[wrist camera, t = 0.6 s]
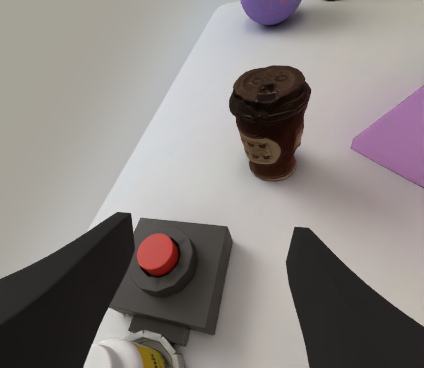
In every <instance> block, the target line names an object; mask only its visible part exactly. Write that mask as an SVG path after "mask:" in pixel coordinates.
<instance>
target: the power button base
mask: <svg viewBox="0 0 424 368" xmlns="http://www.w3.org/2000/svg"><path fill="white" fill-rule="evenodd" d="M153 234H165V235H167V236H168V237H169V238H170V239H171V240H172V241H173V243H174V244H175V245H176V247H177V249H178V253H179V256H178V261H177V263H176V265H175V267H174V268H173V269H172V270H171V271H170V272H168V273H167V274H164V275H161V276H155V275H152V274H150V273H148V272H147V271H146V270H145V269H144V268H142V267H141V266H140V264H139V263H138V260H137V251H138V248H139V246H140V245H141V243H142V242H143V241H144V240H145V239H146V238H147V237H149V236H151V235H153ZM134 242H135V251H134V254H133V257H132V260H131V262H130V265H129V268H128V270H127V272H126V274H125V276H124V278H123V280H122V282H121V284H120V286H119V288H118V290H117V292H116V294H115V296H114V298H113V300H112V302H111V304H110V305H109V308H111V309H114V310H116V311H118V312H121V313H125V314H129V315H133V316H134V315H138V316H142V317H146V318H150V319H154V320H158V321H162V322H167V323H171V324H175V325H179V326H183V327H187V328H189V329H191V330H195V331H199V332H203V333H207V334H211V335H214V333H215V328H216V323H217V318H218V313H219V307H220V302H221V297H222V292H223V287H224V282H225V277H226V272H227V266H228V261H229V256H230V251H231V246H232V238H231V235H230V232H229V230H228V227H227V226H217V225H207V224H197V223H187V222H177V221H167V220H157V219H147V218H140V220H139V222H138V225H137V227H136V229H135V231H134Z"/></svg>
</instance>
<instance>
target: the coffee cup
mask: <svg viewBox="0 0 424 368" xmlns="http://www.w3.org/2000/svg"><path fill="white" fill-rule="evenodd" d="M233 88H234V89H233V93H232V95H231V97H230V100H229V108H230V112H231V113H232V114H233V115H234V116H235V117H236V123H237V127H238V130H239V133H240V136H241V140H242V143H243V145H244V149H245V152H246V155H247V157H248V158H249V160H250V161H249V166H250V169H251V171H252V172H253V173H254V174H255V175H256V176H257V177H259V178H262V179H265V180H274V181H276V180H280V179H285V178H287V177H288V176H289V175H290V174H292V173H293V171H294V170H295V169H296V160H295V157H294V153H295V150H296V149H297V147H298V146H300V144H301V136H302V133H303V128H304V113H305V110H306V108H307V104H308V101H309V98H310V94H311V88H310V87H309V85H308V84H307V83H306V82H305V77H304V76H303V74H302V72H300V71H299V70H298V69H296V68H293V67H290V66H269V67H266V68H259V69H253V70H250V71H247V72H245V73H244V74H243V75H241V76H240V77H239V78H238V80H236V82H235V83H234V86H233Z"/></svg>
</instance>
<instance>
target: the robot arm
mask: <svg viewBox="0 0 424 368" xmlns="http://www.w3.org/2000/svg"><path fill="white" fill-rule="evenodd" d="M134 251H135V242H134V234H133V226H132V218H131V213H122V212H117V213H115V214H114V215H112V216H110V217H109V218H107V219H106V220H104V221H103V222H102V223H100V224H99V225H97V226H96V227H94V228H93V229H91V230H90V231H88V232H87V233H85V234H84V235H82V236H81V237H79V238H77V239H76V240H74V241H73V242H71V243H69V244H67V245H66V246H65V247H63V248H61V249H59V250H58V251H56V252H54V253H53V254H51V255H49V256H48V257H45V258H43V259H41V260H40V261H38V262H36V263H34V264H32V265H30V266H28V267H26V268H24V269H22V270H19V271H17V272H15V273H13V274H10V275H8V276H6V277H4V278H1V279H0V368H83V367H84V364H85V361H86V359H87V356H88V353H89V351H90V348H91V346H92V343H93V341H94V338H95V336H96V333H97V331H98V328H99V326H100V324H101V322H102V319H103V317H104V315H105V313H106V311H107V309H108V307H109V305H110V304H111V302H112V300H113V298H114V296H115V294H116V292H117V290H118V288H119V286H120V284H121V282H122V280H123V278H124V276H125V274H126V272H127V270H128V268H129V265H130V262H131V260H132V257H133V254H134ZM286 266H287V274H288V281H289V286H290V290H291V293H292V297H293V301H294V305H295V308H296V312H297V315H298V319H299V323H300V326H301V330H302V333H303V337H304V341H305V346H306V350H307V356H308V362H309V367H310V368H424V327H423V326H422V325H420V324H419V323H418V322H416V321H415V320H413V319H412V318H410V317H409V316H407V315H406V314H405V313H403V312H402V311H400V310H399V309H398V308H396V307H395V306H394V305H392V304H391V303H390V302H388V301H387V300H386V299H385V298H383V297H382V296H381V295H379V294H378V293H377V292H376V291H374V290H373V289H372V288H371V287H370V286H368V285H367V284H366V283H365V282H364V281H363V280H361V279H360V278H359V277H358V276H357V275H356V274H355V273H354V272H352V271H351V270H350V269H349V268H348V267H347V266H346V265H345V264H344V263H343V262H342V261H341V260H340V259H339V258H338V257H337V256H336V255H335V254H334V253H333V252H332V251H331V250H330V249H329V248H328V247H327V246H326V245H325V244H324V243H323V242H322V241H321V240H320V239H319V238H318V237H317V236H316V235H315V234H314V233H313V231H311V230H310V229H309V228H303V227H294V231H293V235H292V239H291V244H290V248H289V252H288V256H287V260H286Z"/></svg>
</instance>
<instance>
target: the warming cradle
mask: <svg viewBox="0 0 424 368" xmlns="http://www.w3.org/2000/svg"><path fill="white" fill-rule="evenodd" d="M128 331H130V332H133V333H134V334H132V335H129V336H127V337H125V340H129V341H132V342H135V343H138V344H140V343H143V342H145V341H148V340H153V341H157V342H160V343H161V345H162V346H163V347H164V348H165V350H166V351H167V352H168V354H169V355H170V356H171V360H172V367H173V368H185V365H184V359H183V356H182V355H181V354H182V353H181V352H180V350H179V349H178V348H177V347H176V345H175V344H177V345H181V346H186V344H187V340H188V336H189V332H190V329H189V328H187V327H183V326H179V325H175V324H171V323H167V322H162V321H158V320H154V319H150V318H146V317H142V316H138V315H134V316H133V319H132V322H131V324H130V327H129V330H128Z"/></svg>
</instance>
